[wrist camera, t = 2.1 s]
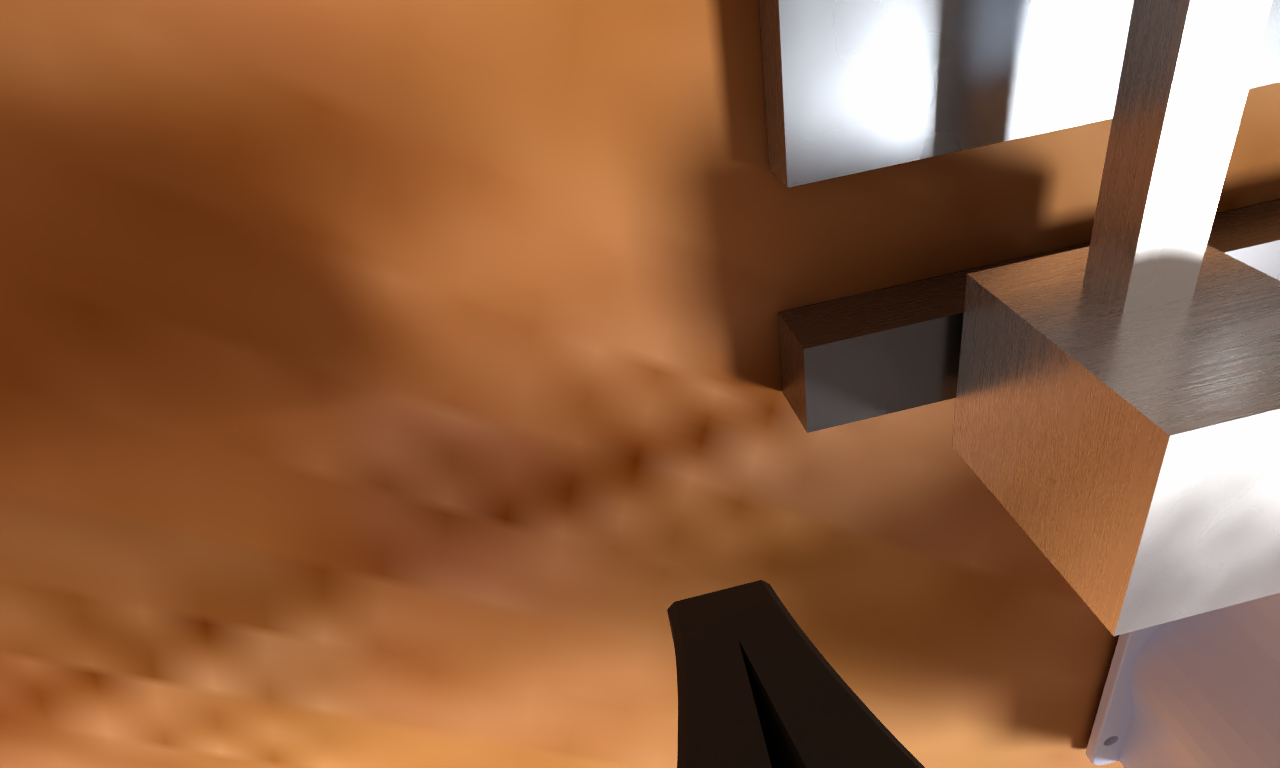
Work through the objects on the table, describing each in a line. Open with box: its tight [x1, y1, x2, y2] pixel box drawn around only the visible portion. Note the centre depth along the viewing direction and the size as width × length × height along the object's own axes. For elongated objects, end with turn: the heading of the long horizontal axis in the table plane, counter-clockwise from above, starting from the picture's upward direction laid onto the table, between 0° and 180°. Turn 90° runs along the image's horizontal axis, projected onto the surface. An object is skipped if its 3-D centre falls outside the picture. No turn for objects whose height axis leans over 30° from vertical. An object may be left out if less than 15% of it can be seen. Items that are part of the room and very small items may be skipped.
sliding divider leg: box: [952, 0, 1280, 636], centre depth 12 cm, size 11×4×5 cm, turn 9°
